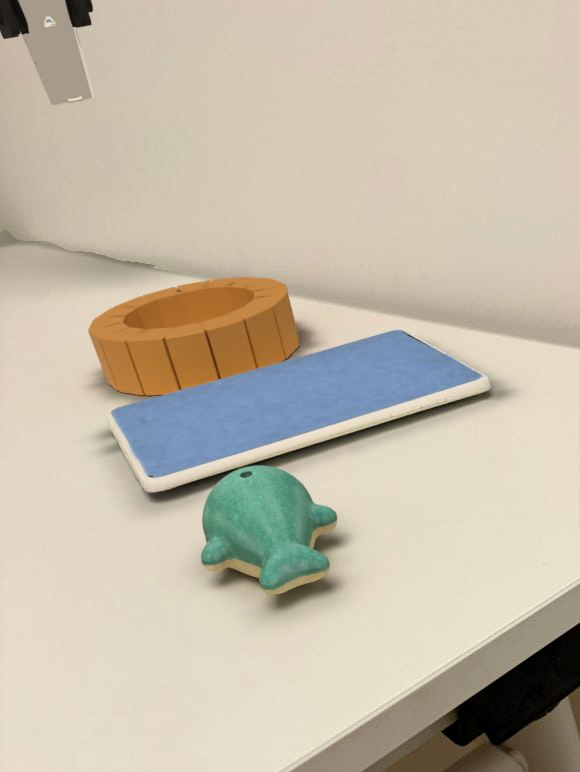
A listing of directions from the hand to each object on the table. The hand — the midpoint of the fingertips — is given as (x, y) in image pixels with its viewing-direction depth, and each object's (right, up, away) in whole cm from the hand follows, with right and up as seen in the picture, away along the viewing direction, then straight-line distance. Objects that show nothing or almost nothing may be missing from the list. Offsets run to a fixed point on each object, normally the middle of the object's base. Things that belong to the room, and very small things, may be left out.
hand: (46, 28), depth 68 cm
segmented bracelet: (+14, -26, -6) cm, 30 cm away
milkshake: (+1, -4, +3) cm, 5 cm away
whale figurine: (+24, -43, -30) cm, 58 cm away
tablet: (+22, -33, -16) cm, 43 cm away
